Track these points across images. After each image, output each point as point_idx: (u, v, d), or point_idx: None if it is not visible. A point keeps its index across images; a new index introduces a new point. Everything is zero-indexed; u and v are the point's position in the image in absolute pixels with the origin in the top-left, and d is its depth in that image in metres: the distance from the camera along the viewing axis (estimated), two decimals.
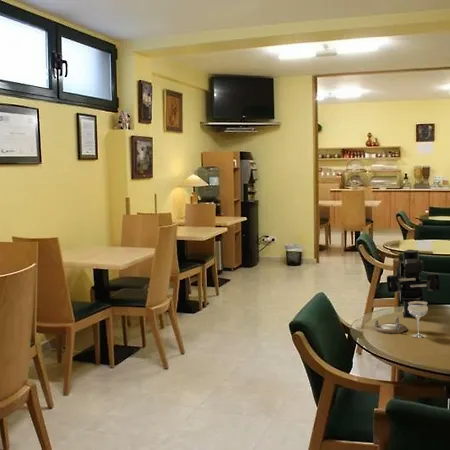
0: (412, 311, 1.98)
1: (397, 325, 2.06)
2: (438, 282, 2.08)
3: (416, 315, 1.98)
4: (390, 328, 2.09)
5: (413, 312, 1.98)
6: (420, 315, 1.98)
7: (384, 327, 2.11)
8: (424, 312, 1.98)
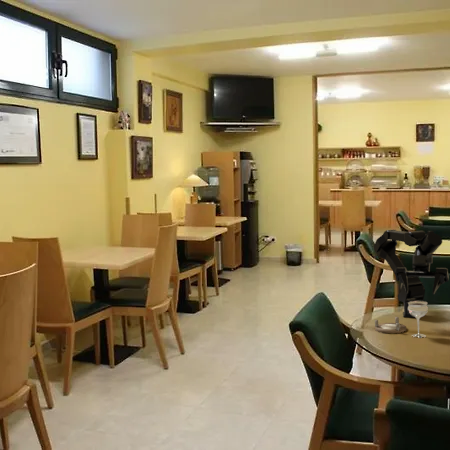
0: (412, 311, 1.98)
1: (397, 325, 2.06)
2: (446, 277, 2.08)
3: (416, 315, 1.98)
4: (390, 328, 2.09)
5: (413, 312, 1.98)
6: (420, 315, 1.98)
7: (384, 327, 2.11)
8: (424, 312, 1.98)
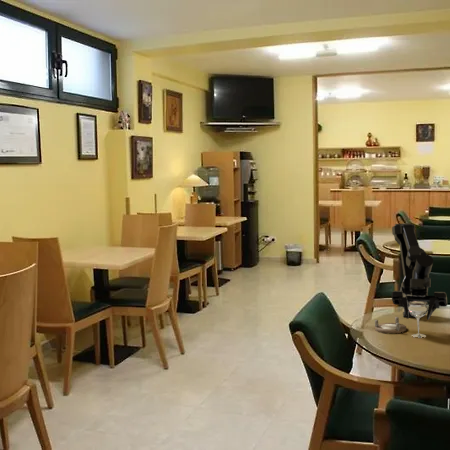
0: (412, 311, 1.98)
1: (397, 325, 2.06)
2: (445, 302, 2.00)
3: (416, 315, 1.98)
4: (390, 328, 2.09)
5: (413, 312, 1.98)
6: (420, 315, 1.98)
7: (384, 327, 2.11)
8: (424, 312, 1.98)
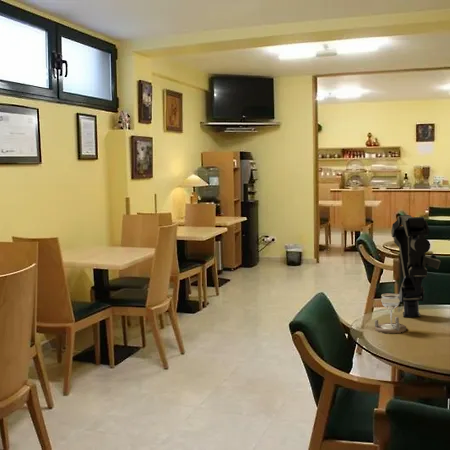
0: (385, 303, 2.08)
1: (397, 325, 2.06)
2: None
3: (388, 307, 2.08)
4: (390, 328, 2.09)
5: (386, 303, 2.08)
6: (392, 307, 2.08)
7: (384, 327, 2.11)
8: (396, 304, 2.08)
